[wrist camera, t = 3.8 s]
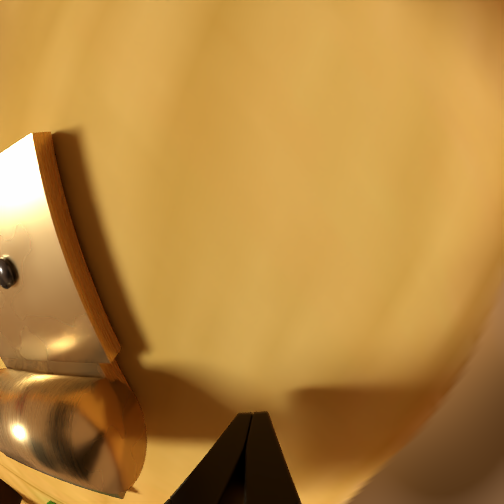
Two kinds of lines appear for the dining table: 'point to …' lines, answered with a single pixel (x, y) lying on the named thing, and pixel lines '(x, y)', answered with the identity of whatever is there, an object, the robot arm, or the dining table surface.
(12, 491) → the coffee mug
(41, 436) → the brass leaf
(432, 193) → the dining table surface
